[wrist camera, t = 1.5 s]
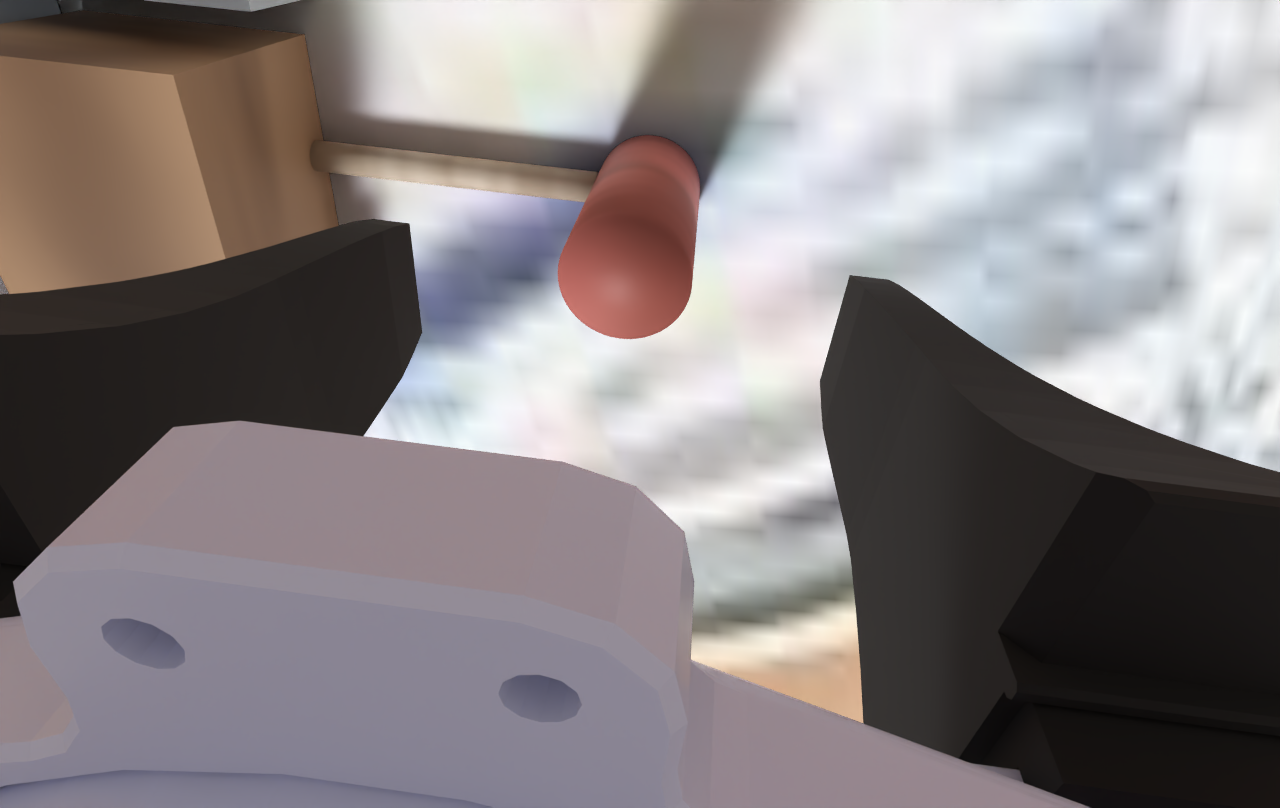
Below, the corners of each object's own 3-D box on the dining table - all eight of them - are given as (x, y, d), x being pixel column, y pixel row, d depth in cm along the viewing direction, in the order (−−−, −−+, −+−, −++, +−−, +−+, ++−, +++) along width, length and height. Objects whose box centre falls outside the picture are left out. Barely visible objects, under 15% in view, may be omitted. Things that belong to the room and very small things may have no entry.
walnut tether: (156, 226, 18) (-5, 317, 14) (82, 10, 15) (-145, 48, 11) (686, 289, 18) (675, 401, 14) (715, 79, 15) (711, 144, 11)
